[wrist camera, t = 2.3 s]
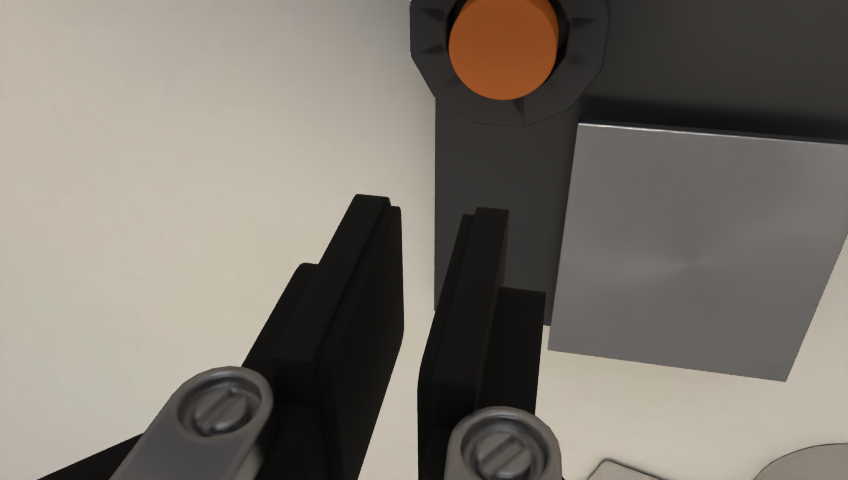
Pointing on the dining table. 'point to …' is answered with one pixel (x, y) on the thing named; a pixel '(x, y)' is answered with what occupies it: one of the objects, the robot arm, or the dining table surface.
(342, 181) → the dining table surface
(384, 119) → the dining table surface
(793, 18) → the scale
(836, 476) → the light grey cylinder
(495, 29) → the button
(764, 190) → the weighing pan
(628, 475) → the medicine bottle
